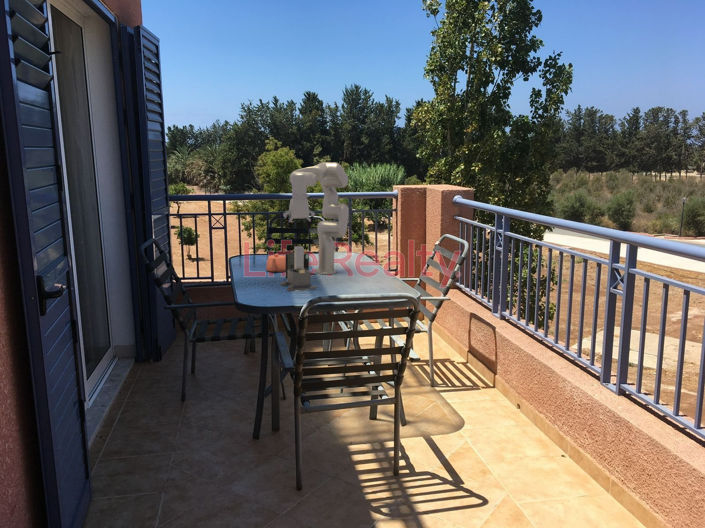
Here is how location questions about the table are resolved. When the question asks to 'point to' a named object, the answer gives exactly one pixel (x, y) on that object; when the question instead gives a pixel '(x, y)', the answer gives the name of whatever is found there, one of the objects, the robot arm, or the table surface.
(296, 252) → the column
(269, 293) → the table surface
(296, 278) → the stand base
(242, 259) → the table surface
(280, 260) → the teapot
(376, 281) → the table surface
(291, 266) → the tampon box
